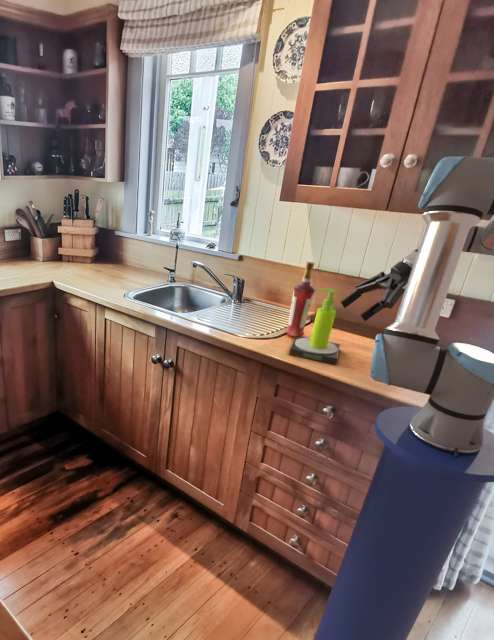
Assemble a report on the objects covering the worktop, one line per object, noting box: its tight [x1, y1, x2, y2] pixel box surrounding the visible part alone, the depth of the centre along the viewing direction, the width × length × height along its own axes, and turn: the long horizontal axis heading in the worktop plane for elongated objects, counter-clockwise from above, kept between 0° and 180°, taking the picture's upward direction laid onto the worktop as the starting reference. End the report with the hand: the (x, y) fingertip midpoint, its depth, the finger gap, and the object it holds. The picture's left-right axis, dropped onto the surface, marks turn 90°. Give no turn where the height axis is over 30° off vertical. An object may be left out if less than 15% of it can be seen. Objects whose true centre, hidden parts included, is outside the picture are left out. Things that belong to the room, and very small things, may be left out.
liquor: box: [284, 261, 316, 339], centre depth 172 cm, size 7×7×28 cm
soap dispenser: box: [309, 287, 338, 349], centre depth 158 cm, size 6×7×20 cm
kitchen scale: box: [288, 335, 341, 365], centre depth 163 cm, size 15×15×3 cm
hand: (352, 311), depth 158 cm, fingers open, 13 cm apart
